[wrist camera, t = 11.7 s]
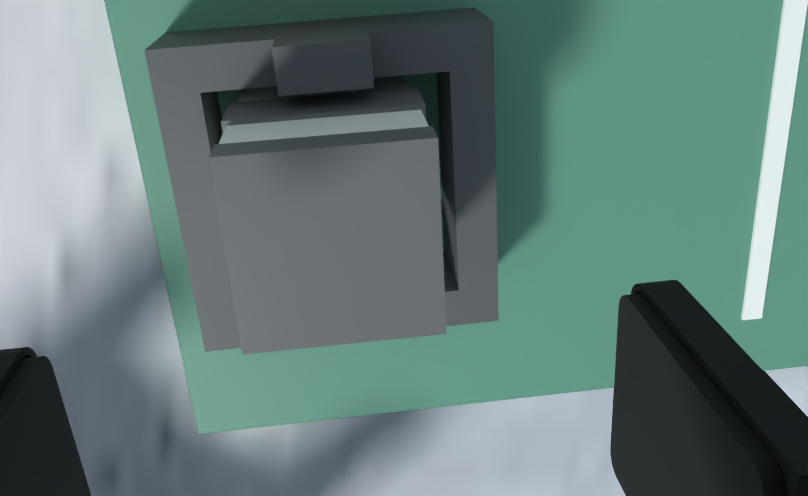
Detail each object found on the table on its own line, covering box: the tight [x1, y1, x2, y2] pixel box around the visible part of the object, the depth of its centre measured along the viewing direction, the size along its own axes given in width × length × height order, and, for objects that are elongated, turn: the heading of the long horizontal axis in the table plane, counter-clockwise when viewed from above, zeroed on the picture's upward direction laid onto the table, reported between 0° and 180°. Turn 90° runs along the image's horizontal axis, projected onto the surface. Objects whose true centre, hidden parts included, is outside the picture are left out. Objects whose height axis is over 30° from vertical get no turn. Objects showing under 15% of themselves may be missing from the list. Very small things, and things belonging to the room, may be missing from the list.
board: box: [104, 0, 808, 434], centre depth 20 cm, size 16×22×5 cm
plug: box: [209, 75, 447, 355], centre depth 17 cm, size 4×4×6 cm
